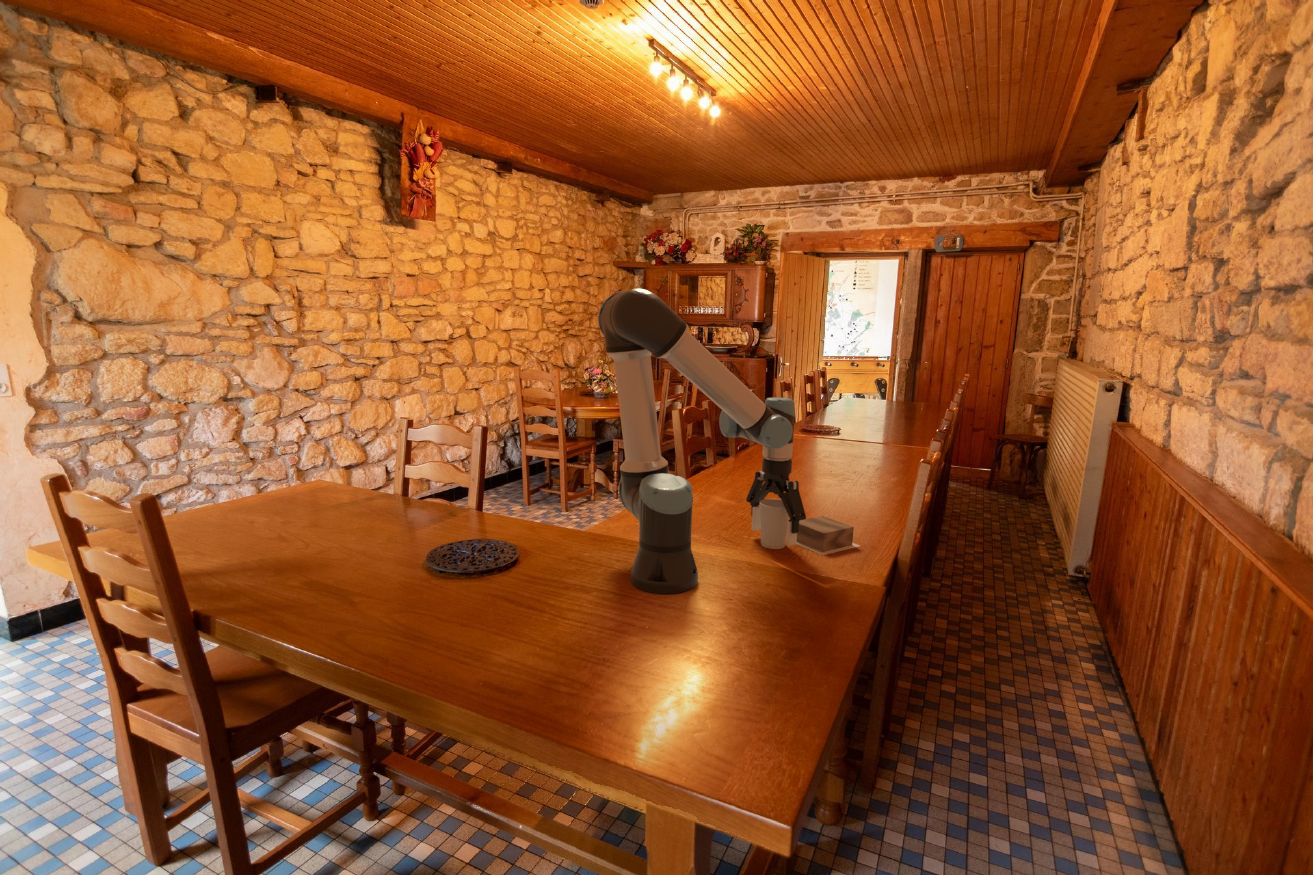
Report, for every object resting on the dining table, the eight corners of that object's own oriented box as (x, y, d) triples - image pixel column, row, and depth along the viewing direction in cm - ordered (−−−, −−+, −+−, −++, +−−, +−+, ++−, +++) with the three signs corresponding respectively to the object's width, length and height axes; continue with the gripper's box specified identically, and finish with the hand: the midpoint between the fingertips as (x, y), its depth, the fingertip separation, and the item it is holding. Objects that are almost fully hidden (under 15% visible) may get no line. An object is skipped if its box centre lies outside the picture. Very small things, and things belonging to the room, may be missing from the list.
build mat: (822, 557, 155) (823, 554, 155) (784, 540, 167) (784, 538, 167) (860, 547, 162) (860, 545, 162) (821, 532, 174) (821, 530, 174)
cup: (779, 554, 157) (782, 509, 155) (751, 547, 161) (754, 503, 159) (793, 546, 163) (795, 502, 161) (766, 539, 168) (768, 497, 166)
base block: (822, 552, 157) (824, 533, 156) (792, 539, 166) (793, 521, 166) (852, 545, 163) (853, 526, 162) (821, 533, 172) (822, 516, 171)
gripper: (824, 465, 150) (818, 548, 153) (756, 448, 170) (753, 521, 174) (801, 468, 146) (796, 554, 149) (735, 450, 167) (732, 525, 170)
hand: (773, 536), depth 162 cm, fingers open, 13 cm apart
